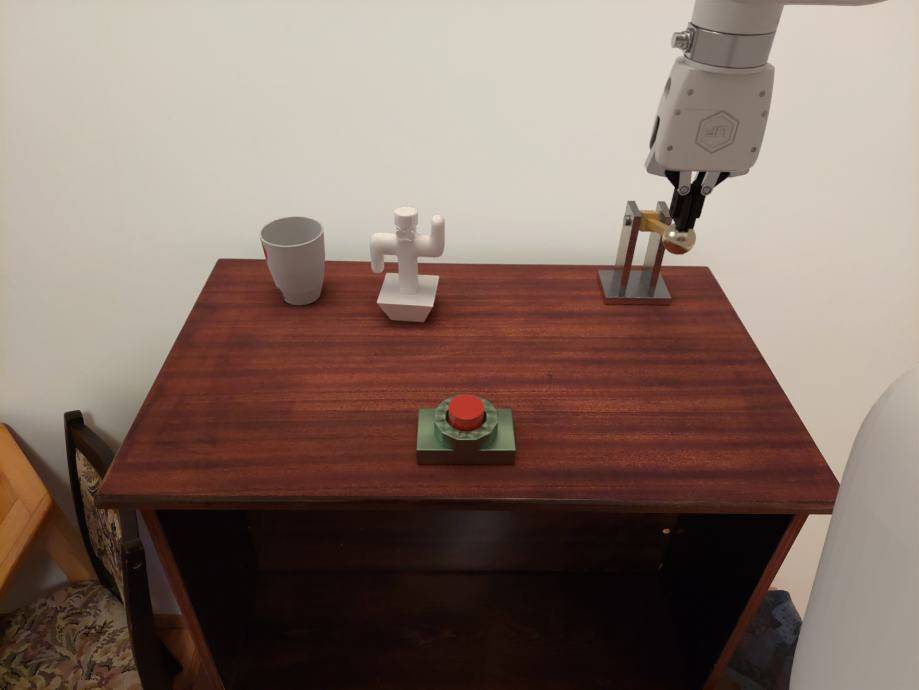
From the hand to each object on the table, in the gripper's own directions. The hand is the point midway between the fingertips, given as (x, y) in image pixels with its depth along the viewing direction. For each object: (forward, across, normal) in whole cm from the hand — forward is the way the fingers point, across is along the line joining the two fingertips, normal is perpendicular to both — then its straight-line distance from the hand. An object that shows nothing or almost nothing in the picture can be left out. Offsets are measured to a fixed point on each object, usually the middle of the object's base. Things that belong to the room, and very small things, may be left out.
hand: (682, 222), depth 71 cm
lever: (+6, 0, +5) cm, 8 cm away
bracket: (+17, 0, +12) cm, 21 cm away
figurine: (+17, -31, +6) cm, 36 cm away
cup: (+17, -46, +10) cm, 50 cm away
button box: (+17, -24, -18) cm, 34 cm away
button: (+13, -24, -18) cm, 32 cm away
